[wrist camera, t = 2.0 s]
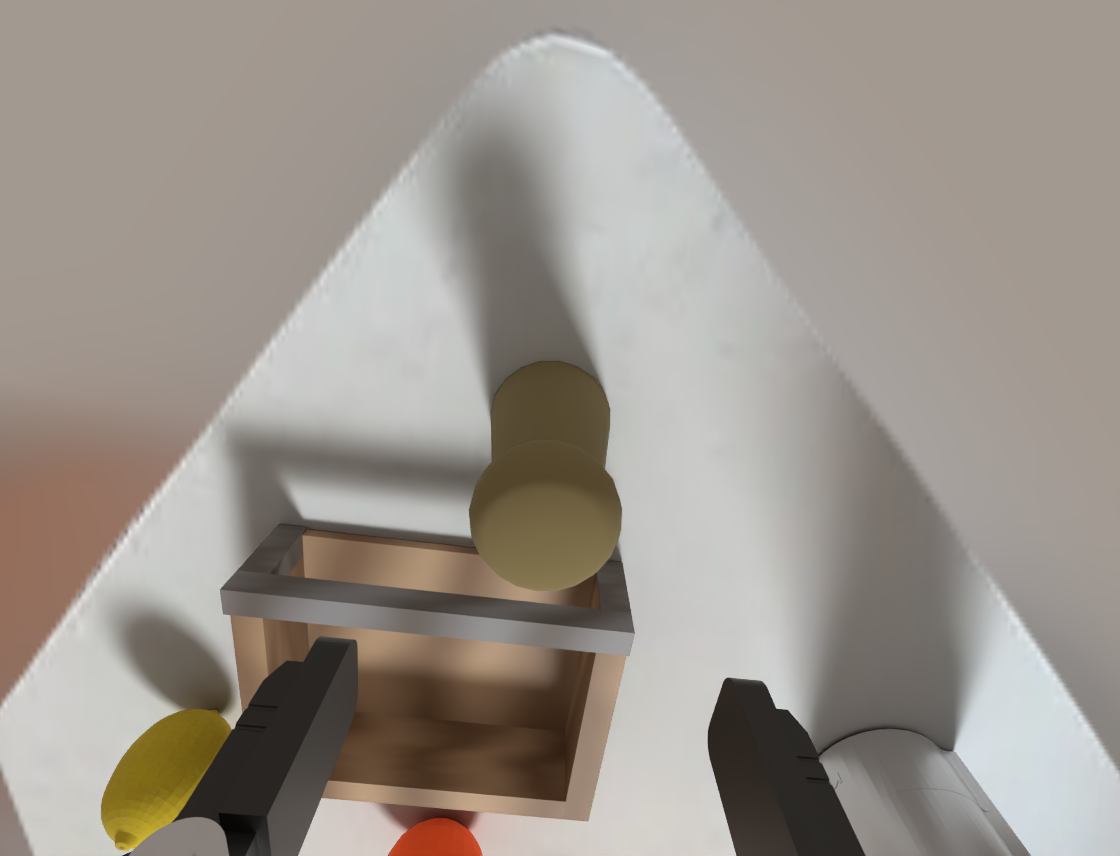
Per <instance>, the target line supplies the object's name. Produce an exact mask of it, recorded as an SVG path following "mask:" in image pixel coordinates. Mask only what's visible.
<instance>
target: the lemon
mask: <svg viewBox="0 0 1120 856" xmlns="http://www.w3.org/2000/svg"><path fill="white" fill-rule="evenodd" d="M231 731H232V730H231V727H230V725H229V724H228V723H227V721H226V720H225V719H224V718H222V717H221V716H220V713H219V712H218V711H217V710H204V709H189V710H184V711H180V712H177V713H174V714H172V715H170V716H167V717H165V718H163V719H161V720H160V721H158V722H157V723H155V724H154V725H153V726H152V727H150V728H149V729H148V730H147V731H146V732H145V733H144V734H143V735H141V736H140V737H139V738H138V739H137V740H136V741H135V742H134V743H133V744H132V746H131V747H130V748H129V749H128V750H127V752H126V753H125V755H124V756H123V757H122V759H121V760H120V762H119V764H118V765H117V767H116V769H115V771H114V773H113V775H112V777H111V779H110V781H109V783H108V785H107V787H106V789H105V792H104V795H103V798H102V804H101V819H102V823H103V826H104V828H105V831H106V832H107V834H108V835H109V837H110V838H111V839H112V840H114V841H115V847H116V848H117V849H119V850H121V851H127V850H129V849H131V848H136V847H137V846H138V845H139V844H140V843H141V842H142V841H143V840H145V839H146V838H147V837H148V836H149V835H151V834H152V833H154V832H155V831H157V830H158V829H160V828H162V827H164V826H166V825H168V824H170V823H171V822H172V821H173V820H174V819H175V818H176V817H177V816H178V814H179V813H180V812H181V810H182V809H183V807H184V806H185V804H186V803H187V801H188V799H189V798H190V796H191V795H192V793H193V791H194V790H195V788H196V787H197V785H198V784H199V782H200V780H201V779H202V777H203V776H204V774H205V772H206V771H207V769H208V768H209V766H210V764H211V763H212V761H213V760H214V758H215V756H216V755H217V753H218V752H219V750H220V748H221V747H222V745H223V744H224V742H225V741H226V739H227V737H228V736H229V734H230V733H231Z"/></svg>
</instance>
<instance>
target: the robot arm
mask: <svg viewBox="0 0 1120 856" xmlns="http://www.w3.org/2000/svg"><path fill="white" fill-rule="evenodd" d="M357 699H358V646H357V641H356V640H354V639H344V638H334V637H324V636H320V637H318V638H317V639H316V641H315V642H314V644H313V646H312V647H311V649H310V651H309V653H308V654H307V656H306V658H305V660H304V662H298V661H288V660H287V661H285V662H284V663H283V664H282V665H281V666H280V667H278V668H277V669H276V670H275V671H274V672H272V673H271V674H270V675H269V676H268V677H266V678H265V679H264V680H263V682H262V683H261V685H260V686H259V688H258V690H257V691H256V693H255V694H254V696H253V698H252V699H251V701H250V702H249V704H248V708H247V709H245V710H244V712H243V713H242V715H241V717H240V718H239V720H238V721H237V723H236V726H235V729H232V731H231V733H230V734H229V736H228V737H227V739H226V741H225V742H224V744H223V745H222V747H221V748H220V750H219V752H218V753H217V755H216V756H215V758H214V760H213V761H212V763H211V764H210V766H209V768H208V769H207V771H206V772H205V774H204V776H203V777H202V779H201V780H200V782H199V784H198V785H197V787H196V788H195V790H194V791H193V793H192V795H191V796H190V798H189V799H188V801H187V803H186V804H185V806H184V807H183V809H182V810H181V812H180V813H179V814H178V816H177V817H176V818H175V819H174V820H173V821H172V822H171V823H170V824H168V825H166V826H164V827H162V828H160V829H158V830H157V831H155V832H154V833H152V834H151V835H149V836H148V837H147V838H146V839H145V840H143V841H142V842H141V843H140V844H139V845H138V846H137V847H136V848H135V849H134V850H133V851H132V852H130V853H127V854H125V855H123V856H298V854H299V852H300V849H301V847H302V844H303V842H304V839H305V837H306V834H307V832H308V829H309V827H310V824H311V822H312V820H313V817H314V815H315V812H316V810H317V807H318V805H319V802H320V800H321V797H322V795H323V792H324V790H325V787H326V785H327V782H328V780H329V777H330V775H331V773H332V770H333V768H334V765H335V763H336V760H337V758H338V755H339V753H340V750H341V748H342V745H343V743H344V740H345V738H346V735H347V733H348V730H349V728H350V726H351V723H352V720H353V717H354V713H355V709H356V705H357ZM708 751H709V757H710V761H711V764H712V768H713V772H714V775H715V779H716V783H717V786H718V790H719V794H720V797H721V801H722V804H723V808H724V812H725V815H726V819H727V823H728V826H729V830H730V834H731V837H732V841H733V845H734V848H735V852H736V855H737V856H1031V855H1030V854H1029V852H1028V851H1027V850H1026V848H1025V847H1024V845H1023V844H1022V843H1021V841H1020V840H1019V839H1018V837H1017V836H1016V835H1015V833H1014V832H1013V830H1012V829H1011V828H1010V826H1009V825H1008V824H1007V822H1006V821H1005V819H1004V818H1003V817H1002V815H1001V814H1000V813H999V811H998V810H997V808H996V807H995V806H994V804H993V803H992V802H991V800H990V799H989V798H988V796H987V795H986V793H985V792H984V791H983V789H982V788H981V787H980V785H979V784H978V782H977V781H976V780H975V778H974V777H973V776H972V774H971V773H970V772H969V770H968V769H967V767H966V766H965V765H964V763H963V762H962V761H961V759H960V758H959V756H958V755H957V754H956V752H953V751H945V750H941V749H940V748H939V747H938V746H936V745H935V744H934V743H933V742H932V741H931V740H930V739H928V738H926V737H924V736H922V735H921V734H918V733H914V732H911V731H907V730H899V729H879V730H873V731H868V732H862V733H859V734H856V735H854V736H851V737H848V738H846V739H844V740H842V741H840V742H838V743H836V744H834V745H833V746H832V747H830V748H829V749H827V750H826V751H825V752H823V753H822V754H821V756H820V757H819V756H818V754H817V752H816V750H815V748H814V745H813V743H812V741H811V739H810V737H809V735H808V733H807V732H806V730H805V729H804V728H803V727H802V726H801V725H800V724H799V722H798V721H797V720H796V719H795V718H794V717H793V715H792V714H791V713H790V712H789V711H788V710H783V709H776V707H775V705H774V703H773V700H772V698H771V696H770V693H769V691H768V689H767V687H766V685H765V684H764V683H763V682H762V681H757V680H747V679H737V678H726V679H725V680H724V682H723V685H722V688H721V691H720V694H719V697H718V700H717V703H716V706H715V709H714V712H713V715H712V718H711V721H710V725H709V729H708Z"/></svg>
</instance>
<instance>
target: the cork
mask: <svg viewBox="0 0 1120 856" xmlns="http://www.w3.org/2000/svg"><path fill="white" fill-rule="evenodd" d="M609 430H610V407H609V404H608V401H607V398H606V395H605V392H604V391H603V390H602V388H601V387H600V386H599V384H598V383H597V382H596V380H595V379H594V378H593V377H592V376H590V375H589V374H588V373H586V372H585V371H583V370H582V369H580V368H579V367H577V366H574V365H570V364H567V363H564V362H560V361H539V362H536V363H533V364H530V365H527V366H524V367H521V368H520V369H519V370H517V371H516V372H515V373H513V374H512V375H511V376H509V377H508V378H506V380H505V381H504V382H503V384H502V385H501V387H500V388H499V390H498V391H497V393H496V394H495V398H494V402H493V405H492V409H491V444H492V463H490V465H489V466H488V467H487V469H486V470H485V472H484V473H483V474H482V476H481V477H480V478H479V480H478V481H477V484H476V487H475V490H474V493H473V497H472V501H471V504H470V508H469V517H470V528H471V535H472V540H473V542H474V544H475V546H476V548H477V551H478V553H479V555H480V557H481V558H482V559H483V560H484V561H485V562H486V563H487V565H488V566H489V567H490V568H491V569H492V570H493V571H494V572H495V573H496V574H497V575H498V576H499V577H501V578H503V579H505V580H506V581H508V582H510V583H512V584H513V585H515V586H517V587H521V588H525V589H529V590H533V591H558V590H562V589H566V588H569V587H573V586H576V585H578V584H579V583H581V582H583V581H584V580H586V579H588V578H589V577H591V576H593V575H594V574H595V573H596V572H598V570H599V569H600V568H601V567H602V566H603V565H604V564H605V563H606V561H607V560H608V559H609V558H610V557H611V555H612V553H613V551H614V548H615V546H616V543H617V541H618V538H619V535H620V531H621V517H622V507H621V503H620V499H619V496H618V493H617V490H616V487H615V484H614V481H613V479H612V478H611V476H610V475H609V474H608V473H607V471H606V470H605V463H606V454H607V446H608V438H609Z"/></svg>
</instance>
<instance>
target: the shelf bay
mask: <svg viewBox="0 0 1120 856" xmlns="http://www.w3.org/2000/svg"><path fill="white" fill-rule="evenodd" d="M220 594H221V601H222V609H223V614H226V615H230V616H231V624H232V632H233V640H234V648H235V656H236V664H237V672H238V681H239V689H240V697H241V705H242V713H243V712H244V710H245V709H247V708H248V704H249V702H250V701H251V699H252V698H253V696H254V694H255V693H256V691H257V690H258V688H259V686H260V685H261V683H262V682H263V680H264V679H265V678H266V677H268V676H269V675H270V674H271V673H272V672H274V671H275V670H276V669H277V668H278V667H280V666H281V665H282V664H283V663H284V662H285V661H287V660H288V661H298V662H304V660H305V658H306V656H307V654H308V653H309V651H310V649H311V647H312V646H313V644H314V642H315V641H316V639H317V638H318V637H320V636H324V637H334V638H344V639H354V640H356V641H357V646H358V699H357V705H356V709H355V713H354V717H353V720H352V723H351V726H350V728H349V730H348V733H347V735H346V738H345V740H344V743H343V745H342V748H341V750H340V753H339V755H338V758H337V760H336V763H335V765H334V768H333V770H332V773H331V775H330V777H329V780H328V782H327V785H326V787H325V790H324V792H323V795H322V797H321V798H329V799H340V800H352V801H363V802H374V803H386V804H397V805H408V806H420V807H431V808H442V809H454V810H465V811H476V812H488V813H499V814H510V815H522V816H533V817H544V818H556V819H567V820H578V821H588V820H589V815H590V811H591V807H592V802H593V798H594V794H595V789H596V785H597V781H598V776H599V772H600V768H601V763H602V759H603V755H604V750H605V746H606V742H607V737H608V733H609V729H610V724H611V720H612V716H613V712H614V707H615V703H616V699H617V694H618V690H619V686H620V681H621V677H622V673H623V668H624V664H625V660H626V656H629V655H630V651H631V647H632V643H633V638H634V634H635V632H634V627H633V621H632V615H631V609H630V604H629V598H628V592H627V586H626V581H625V575H624V569H623V563H622V562H617V561H608V560H607V561H606V563H605V564H604V565H603V566H602V567H601V568H600V569H599V570H598V572H596V573H595V574H594V575H593V576H591V577H589V578H588V579H586V580H584V581H583V582H581V583H579V584H578V585H576V586H573V587H569V588H566V589H562V590H558V591H533V590H529V589H525V588H521V587H517V586H515V585H513V584H512V583H510V582H508V581H506V580H505V579H503V578H501V577H499V576H498V575H497V574H496V573H495V572H494V571H493V570H492V569H491V568H490V567H489V566H488V565H487V563H486V562H485V561H484V560H483V559H482V558H481V557H480V555H479V553H478V551H477V548H471V547H462V546H453V545H444V544H435V543H426V542H417V541H408V540H399V539H390V538H381V537H372V536H363V535H354V534H345V533H336V532H327V531H318V530H309V529H307V527H303V526H294V525H285V524H279V525H278V526H277V527H276V528H275V529H274V530H273V532H272V533H271V534H270V535H269V536H268V537H267V538H266V539H265V540H264V541H263V543H262V544H261V545H260V546H259V547H258V548H257V549H256V550H255V551H254V553H253V554H252V555H251V556H250V557H249V558H248V559H247V560H246V561H245V563H244V564H243V565H242V566H241V567H240V568H239V569H238V570H237V571H236V572H235V574H234V575H233V576H232V577H231V578H230V579H229V580H228V581H227V582H226V584H225V585H224V586H223V587H222V588H221V589H220Z"/></svg>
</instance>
